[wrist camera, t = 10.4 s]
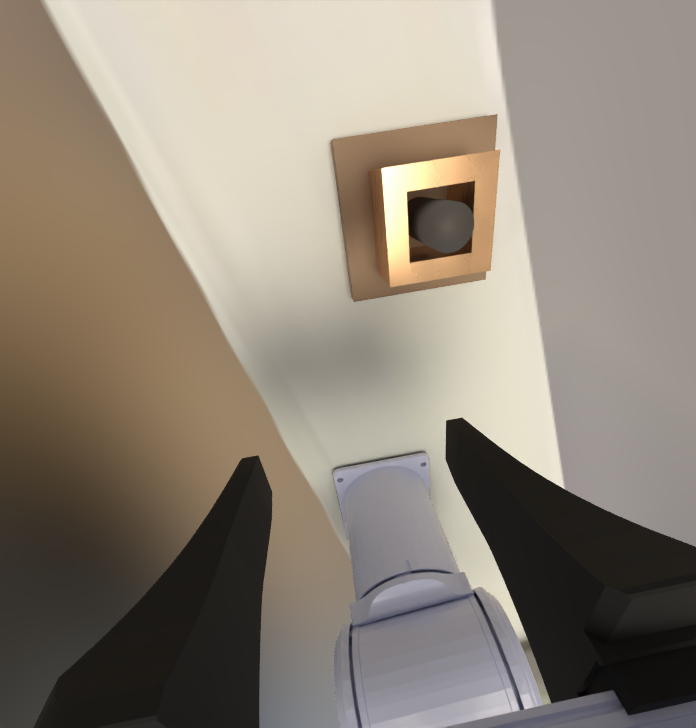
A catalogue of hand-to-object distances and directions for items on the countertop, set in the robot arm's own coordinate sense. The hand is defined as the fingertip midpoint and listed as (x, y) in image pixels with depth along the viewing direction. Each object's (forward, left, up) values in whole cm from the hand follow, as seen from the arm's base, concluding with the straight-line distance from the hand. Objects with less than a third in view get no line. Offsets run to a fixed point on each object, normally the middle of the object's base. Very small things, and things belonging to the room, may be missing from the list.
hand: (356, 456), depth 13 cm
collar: (+7, -6, -9) cm, 13 cm away
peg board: (+7, -6, -10) cm, 14 cm away
